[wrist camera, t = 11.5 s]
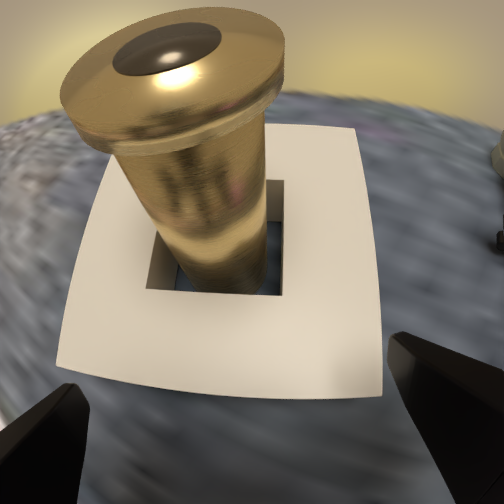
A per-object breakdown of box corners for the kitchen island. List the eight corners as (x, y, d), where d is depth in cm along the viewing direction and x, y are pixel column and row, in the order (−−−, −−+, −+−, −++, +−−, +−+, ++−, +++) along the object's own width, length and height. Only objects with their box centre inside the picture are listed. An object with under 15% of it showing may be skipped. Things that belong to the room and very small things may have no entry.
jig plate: (355, 395, 14) (382, 395, 11) (96, 374, 15) (55, 365, 12) (342, 171, 20) (354, 128, 17) (141, 170, 21) (122, 131, 18)
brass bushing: (251, 329, 16) (207, 142, 4) (163, 289, 17) (22, 108, 5) (290, 243, 18) (313, 16, 6) (207, 212, 19) (149, 6, 7)
